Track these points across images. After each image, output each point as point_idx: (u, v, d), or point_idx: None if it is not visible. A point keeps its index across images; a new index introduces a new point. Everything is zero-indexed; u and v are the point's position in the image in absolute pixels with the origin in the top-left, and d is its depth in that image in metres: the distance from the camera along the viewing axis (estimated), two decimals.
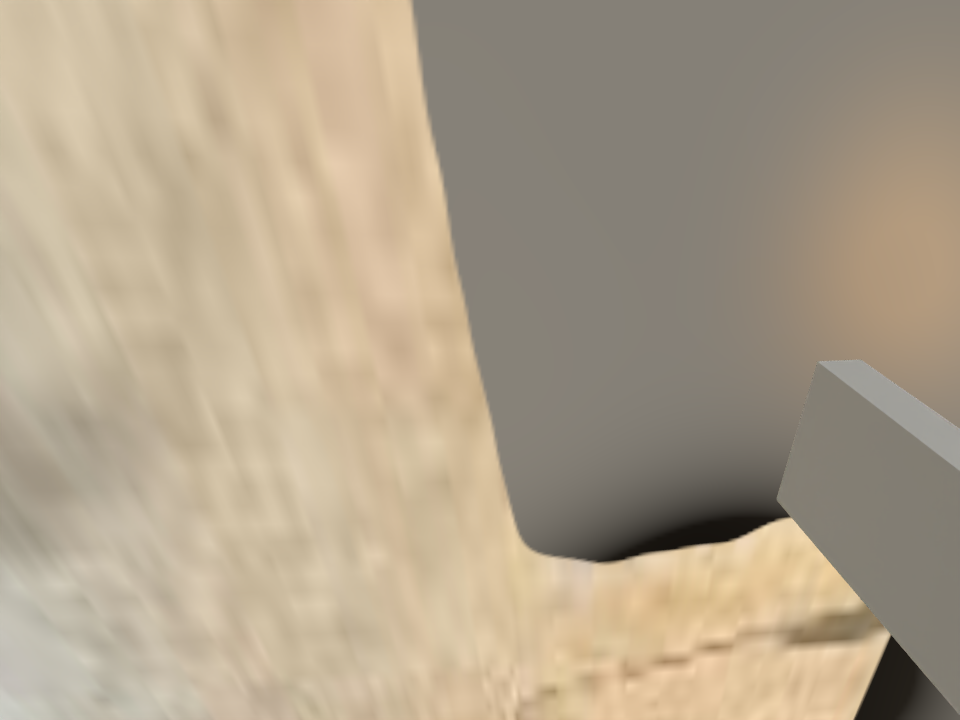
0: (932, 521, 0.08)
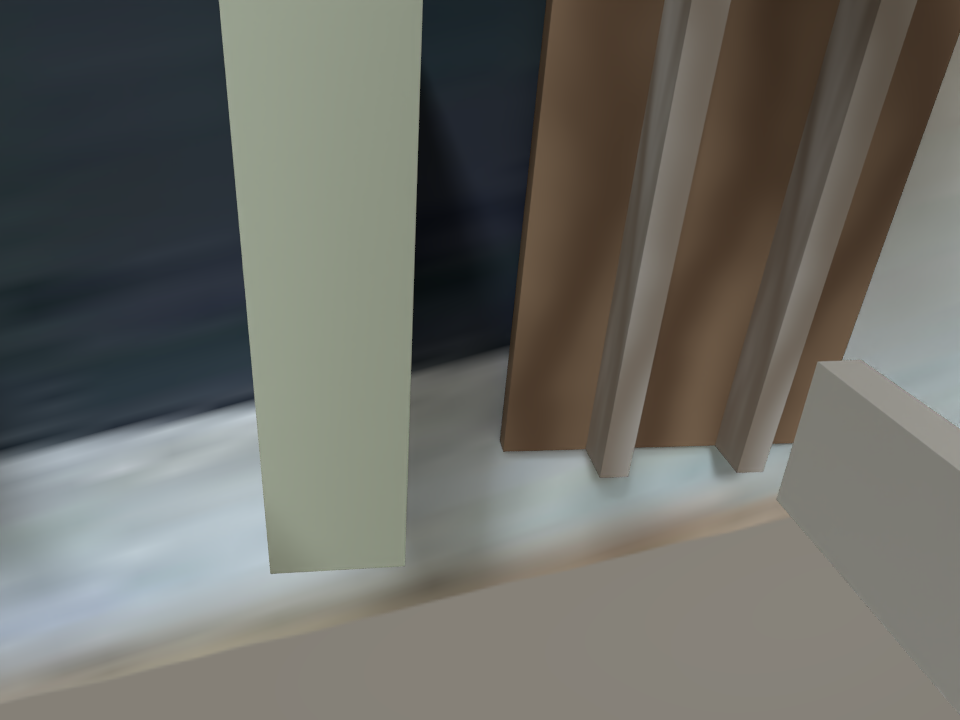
0: (932, 520, 0.08)
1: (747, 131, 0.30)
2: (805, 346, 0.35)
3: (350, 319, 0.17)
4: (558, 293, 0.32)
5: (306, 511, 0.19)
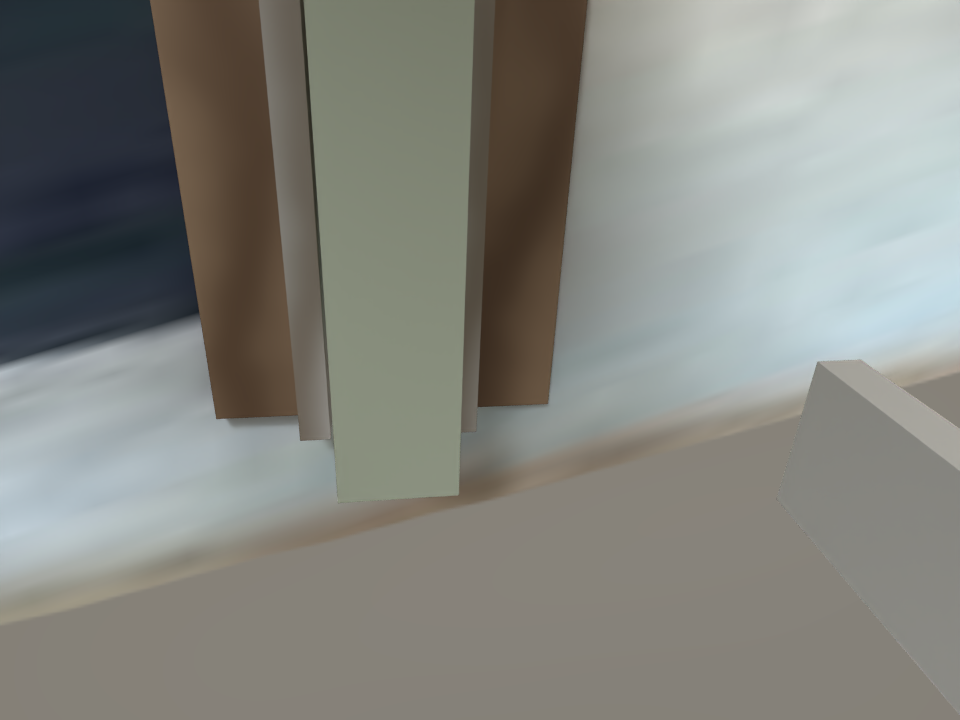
0: (932, 520, 0.08)
1: None
2: (512, 304, 0.35)
3: (411, 258, 0.19)
4: (231, 255, 0.32)
5: (370, 442, 0.21)
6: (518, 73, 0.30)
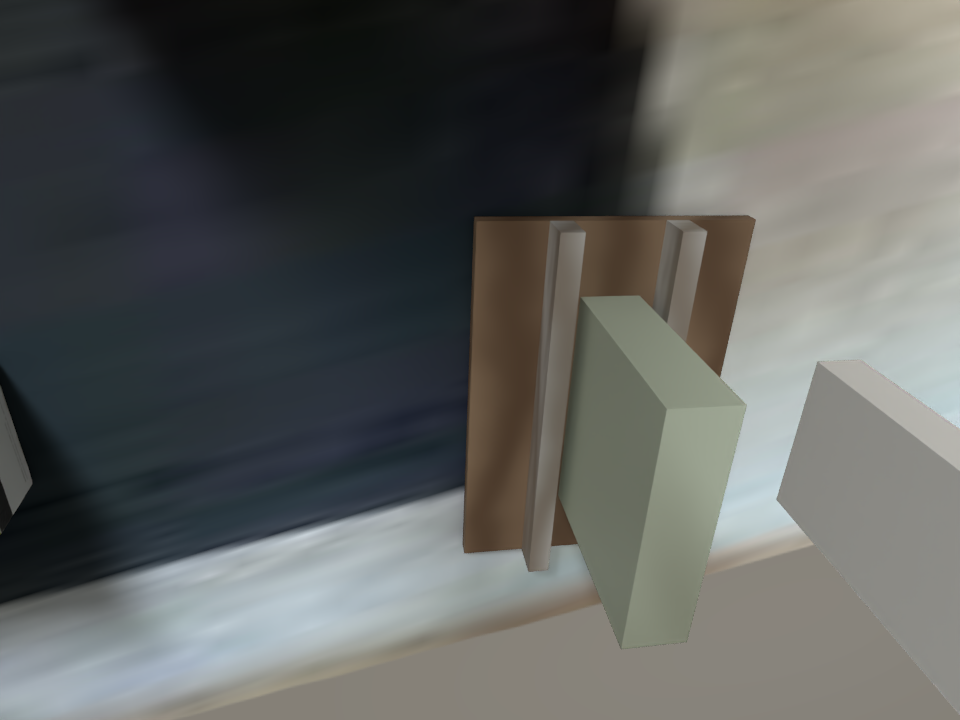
0: (932, 520, 0.08)
1: None
2: None
3: (687, 532, 0.35)
4: (493, 456, 0.48)
5: (646, 618, 0.38)
6: (689, 344, 0.47)
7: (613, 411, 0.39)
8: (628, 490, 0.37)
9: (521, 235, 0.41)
